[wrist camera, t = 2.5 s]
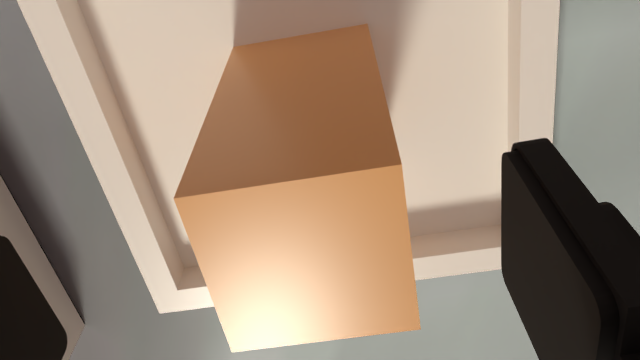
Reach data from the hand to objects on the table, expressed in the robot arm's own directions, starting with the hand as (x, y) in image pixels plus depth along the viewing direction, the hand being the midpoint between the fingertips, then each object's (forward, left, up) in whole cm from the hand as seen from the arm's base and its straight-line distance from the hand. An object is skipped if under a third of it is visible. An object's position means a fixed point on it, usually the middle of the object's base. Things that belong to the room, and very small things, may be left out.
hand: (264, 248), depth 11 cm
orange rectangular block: (-1, 0, -8) cm, 8 cm away
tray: (-1, 0, -9) cm, 9 cm away
